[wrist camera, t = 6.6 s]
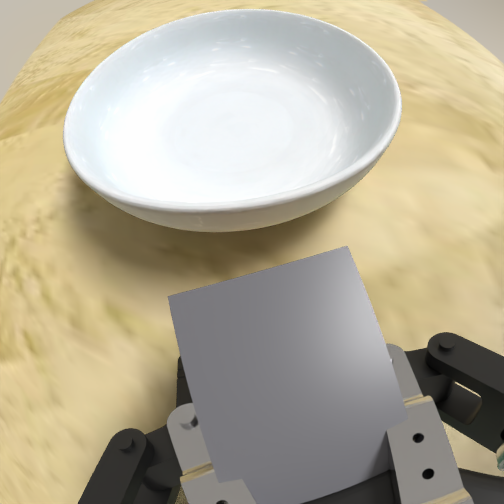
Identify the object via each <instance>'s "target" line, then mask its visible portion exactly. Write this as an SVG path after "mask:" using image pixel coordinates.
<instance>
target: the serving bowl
mask: <svg viewBox="0 0 504 504" xmlns="http://www.w3.org/2000/svg"><path fill="white" fill-rule="evenodd" d="M401 112H402V99H401V93H400V89H399V86H398V84H397V81H396V79H395V77H394V75H393V73H392V71H391V69H390V68H389V66H388V65H387V64H386V62H385V61H384V60H383V59H382V58H381V57H380V56H379V55H378V54H377V53H376V52H375V51H374V50H373V49H372V48H371V47H370V46H368V45H367V44H366V43H364V42H363V41H361V40H360V39H359V38H357V37H355V36H354V35H352V34H350V33H349V32H347V31H345V30H343V29H341V28H339V27H336V26H334V25H332V24H329V23H327V22H324V21H321V20H318V19H315V18H312V17H308V16H304V15H300V14H295V13H289V12H283V11H276V10H264V9H235V10H223V11H216V12H209V13H203V14H198V15H194V16H190V17H186V18H182V19H179V20H176V21H173V22H170V23H167V24H164V25H162V26H159V27H157V28H155V29H152V30H150V31H148V32H146V33H144V34H142V35H140V36H138V37H136V38H135V39H133V40H131V41H130V42H128V43H126V44H125V45H123V46H122V47H120V48H119V49H118V50H116V51H115V52H114V53H112V54H111V55H110V56H108V57H107V58H106V59H105V60H104V61H103V62H101V63H100V64H99V65H98V66H97V67H96V68H95V69H94V70H93V71H92V72H91V73H90V75H89V76H88V77H87V78H86V79H85V80H84V82H83V83H82V85H81V86H80V87H79V89H78V90H77V92H76V94H75V95H74V97H73V99H72V101H71V103H70V106H69V108H68V111H67V114H66V117H65V121H64V129H63V143H64V149H65V153H66V156H67V159H68V161H69V163H70V165H71V167H72V168H73V170H74V171H75V172H76V174H77V175H78V176H79V178H80V179H81V180H82V181H83V182H84V183H85V184H86V185H88V186H89V187H90V188H91V189H92V190H94V191H95V192H96V193H97V194H99V195H100V196H101V197H103V198H104V199H105V200H107V201H108V202H109V203H111V204H112V205H114V206H116V207H117V208H119V209H121V210H123V211H124V212H127V213H129V214H131V215H133V216H135V217H137V218H140V219H143V220H145V221H148V222H151V223H154V224H158V225H161V226H166V227H171V228H175V229H181V230H188V231H197V232H232V231H244V230H251V229H257V228H263V227H268V226H273V225H276V224H280V223H283V222H287V221H290V220H293V219H295V218H298V217H301V216H303V215H306V214H308V213H311V212H313V211H315V210H317V209H319V208H321V207H323V206H325V205H327V204H329V203H330V202H332V201H334V200H335V199H337V198H338V197H340V196H341V195H343V194H344V193H345V192H347V191H348V190H349V189H351V188H352V187H353V186H354V185H356V184H357V183H358V182H359V181H360V180H361V179H362V178H363V177H364V176H365V175H366V174H367V173H368V172H369V171H370V170H371V169H372V168H373V167H374V165H375V164H376V163H377V161H378V160H379V159H380V157H381V156H382V155H383V153H384V152H385V150H386V149H387V147H388V146H389V145H390V143H391V141H392V139H393V138H394V136H395V133H396V131H397V129H398V126H399V123H400V118H401Z"/></svg>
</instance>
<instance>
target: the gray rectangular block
mask: <svg viewBox="0 0 504 504" xmlns="http://www.w3.org/2000/svg"><path fill="white" fill-rule="evenodd" d="M168 300H169V305H170V310H171V315H172V320H173V324H174V329H175V334H176V338H177V342H178V347H179V351H180V355H181V359H182V363H183V367H184V371H185V375H186V379H187V383H188V387H189V390H190V394H191V398H192V401H193V405H194V408H195V412H196V415H197V419H198V422H199V425H200V429H201V432H202V435H203V438H204V441H205V444H206V448H207V451H208V454H209V457H210V460H211V462H212V465H213V468H214V471H215V474H216V477H217V479H218V482H219V483H222V482H228V481H233V480H239V479H242V480H243V481H244V483H245V484H246V486H247V487H248V489H249V491H250V492H251V494H252V495H253V497H254V498H255V500H256V501H257V503H258V504H301V503H304V502H308V501H311V500H314V499H317V498H320V497H323V496H326V495H329V494H332V493H335V492H338V491H340V490H343V489H345V488H348V487H351V486H353V485H356V484H358V483H360V482H363V481H365V480H367V479H370V478H372V477H374V476H376V475H379V474H381V473H383V472H385V471H387V470H389V469H390V468H389V463H388V448H387V431H386V430H387V429H389V428H391V427H393V426H395V425H397V424H399V423H401V422H403V421H405V420H407V419H408V416H407V412H406V409H405V405H404V401H403V398H402V394H401V391H400V388H399V384H398V381H397V378H396V375H395V371H394V368H393V365H392V362H391V359H390V356H389V353H388V350H387V347H386V344H385V341H384V338H383V335H382V332H381V330H380V327H379V324H378V321H377V318H376V316H375V313H374V310H373V308H372V305H371V302H370V300H369V297H368V295H367V292H366V290H365V287H364V284H363V282H362V279H361V277H360V275H359V272H358V270H357V267H356V265H355V262H354V260H353V258H352V255H351V253H350V251H349V248H348V246H344V247H341V248H338V249H334V250H331V251H328V252H324V253H321V254H318V255H314V256H311V257H307V258H304V259H300V260H297V261H294V262H290V263H287V264H283V265H280V266H276V267H273V268H269V269H266V270H262V271H259V272H255V273H252V274H248V275H244V276H241V277H237V278H234V279H230V280H226V281H223V282H219V283H216V284H212V285H208V286H205V287H201V288H197V289H194V290H190V291H186V292H182V293H179V294H175V295H171V296H168Z"/></svg>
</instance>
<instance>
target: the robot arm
mask: <svg viewBox="0 0 504 504" xmlns="http://www.w3.org/2000/svg"><path fill="white" fill-rule="evenodd" d="M386 347H387V350H388V353H389V356H390V359H391V362H392V365H393V368H394V371H395V375H396V378H397V381H398V384H399V388H400V391H401V394H402V398H403V401H404V405H405V409H406V412H407V416H408V419H407V420H405V421H403V422H401V423H399V424H397V425H395V426H393V427H391V428H389V429H387V430H386V431H387V448H388V463H389V468H390V469H389V470H387V471H385V472H383V473H381V474H379V475H376V476H374V477H372V478H370V479H367V480H365V481H363V482H360V483H358V484H356V485H353V486H351V487H348V488H345V489H343V490H340V491H338V492H335V493H332V494H329V495H326V496H323V497H320V498H317V499H314V500H311V501H308V502H304V503H301V504H504V477H499V476H493V475H488V474H483V473H479V472H474V471H470V470H466V469H462V468H458V467H457V464H456V461H455V458H454V455H453V452H452V449H451V446H450V443H449V440H448V437H447V435H446V432H445V429H444V426H443V424H442V421H443V422H445V423H446V424H448V425H450V426H451V427H453V428H454V429H456V430H458V431H459V432H461V433H463V434H464V435H466V436H468V437H469V438H471V439H472V440H474V441H476V442H477V443H479V444H481V445H483V446H484V447H486V448H488V449H489V450H491V451H493V452H494V453H496V454H497V455H496V457H497V462H498V463H497V467H498V469H499V470H500V471H504V357H503V356H501V355H499V354H497V353H495V352H493V351H491V350H489V349H486V348H484V347H482V346H480V345H478V344H476V343H474V342H471V341H469V340H467V339H465V338H463V337H461V336H458V335H456V334H454V333H448V332H444V333H439V334H436V335H434V336H433V337H432V338H431V339H430V340H429V342H428V346H427V348H423V349H419V350H413V351H403V350H402V349H401V348H400V347H398V346H396V345H393V344H386ZM177 378H178V379H177V402H176V409H175V410H173V411H172V412H171V414H170V415H169V417H168V419H167V424H166V425H165V426H164V427H162V428H160V429H158V430H155V431H153V432H150V433H148V434H146V435H144V434H143V433H142V432H141V431H140V430H138V429H133V428H129V429H124V430H122V431H119V432H118V433H116V434H115V435H114V436H113V437H112V439H111V440H110V442H109V444H108V446H107V448H106V450H105V451H104V453H103V455H102V457H101V459H100V461H99V463H98V465H97V467H96V469H95V471H94V472H93V474H92V476H91V478H90V480H89V482H88V484H87V486H86V488H85V490H84V492H83V494H82V496H81V498H80V500H79V502H78V504H175V502H176V499H177V496H178V493H179V490H180V487H181V485H182V488H183V490H184V493H185V496H186V498H187V501H188V503H189V504H258V503H257V501H256V500H255V498H254V497H253V495H252V494H251V492H250V491H249V489H248V487H247V486H246V484H245V483H244V481H243V480H242V479H239V480H233V481H228V482H222V483H219V482H218V479H217V477H216V474H215V471H214V468H213V465H212V462H211V460H210V457H209V454H208V451H207V448H206V444H205V441H204V438H203V435H202V432H201V429H200V425H199V422H198V419H197V415H196V412H195V408H194V405H193V401H192V398H191V394H190V390H189V387H188V383H187V379H186V375H185V371H184V367H183V363H182V359H181V355H180V357H179V359H178V371H177ZM455 382H458V383H459V384H461V385H463V386H465V387H467V388H469V389H470V390H472V391H474V392H476V393H478V394H479V395H480V396H481V397H479V396H477V395H475V394H473V393H472V392H470V391H468V390H466V389H464V388H462V387H461V386H459V385H457V384H455ZM441 420H442V421H441Z"/></svg>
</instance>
